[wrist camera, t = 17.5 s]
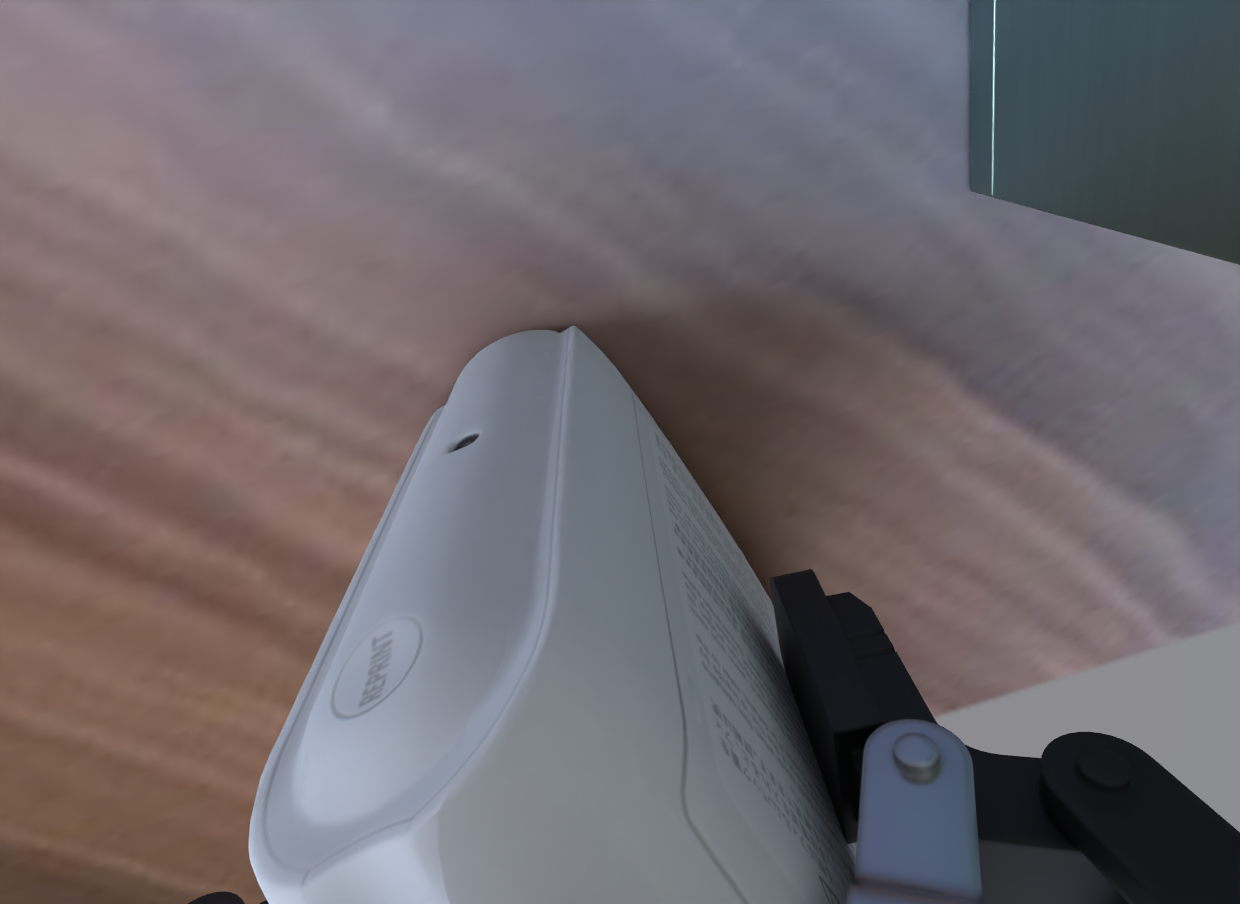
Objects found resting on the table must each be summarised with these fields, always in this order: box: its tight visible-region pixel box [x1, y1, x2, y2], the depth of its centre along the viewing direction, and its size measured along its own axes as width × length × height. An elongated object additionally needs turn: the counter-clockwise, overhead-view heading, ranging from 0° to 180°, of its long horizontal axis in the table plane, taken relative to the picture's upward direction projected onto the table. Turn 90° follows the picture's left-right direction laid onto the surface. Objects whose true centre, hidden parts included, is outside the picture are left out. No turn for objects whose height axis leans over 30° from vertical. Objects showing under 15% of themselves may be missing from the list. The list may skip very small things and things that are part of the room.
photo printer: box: [248, 326, 857, 904], centre depth 12 cm, size 10×4×12 cm, turn 32°
